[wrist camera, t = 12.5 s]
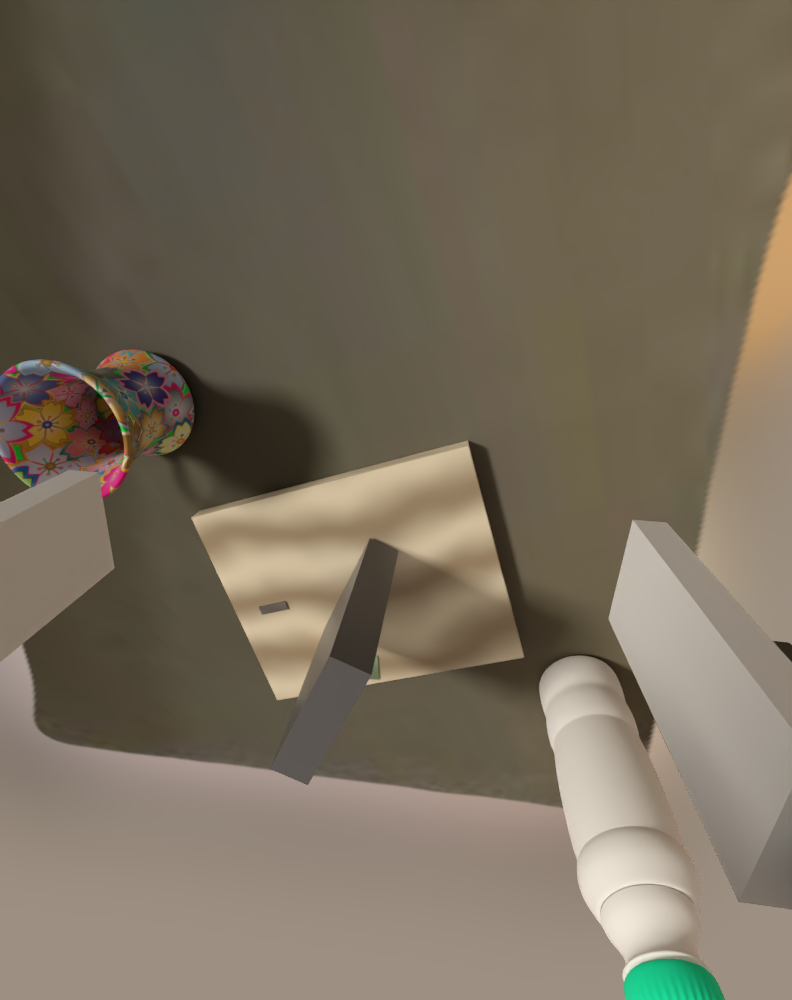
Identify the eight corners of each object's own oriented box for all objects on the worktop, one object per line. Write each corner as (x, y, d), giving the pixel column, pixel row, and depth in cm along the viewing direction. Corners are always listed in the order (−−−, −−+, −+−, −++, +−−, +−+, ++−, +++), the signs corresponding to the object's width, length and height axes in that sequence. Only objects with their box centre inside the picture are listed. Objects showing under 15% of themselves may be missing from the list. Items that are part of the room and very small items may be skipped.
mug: (115, 319, 40) (6, 328, 31) (222, 384, 42) (150, 414, 32) (70, 445, 45) (-37, 488, 35) (167, 501, 46) (89, 559, 36)
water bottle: (610, 645, 47) (761, 994, 24) (622, 706, 49) (769, 1078, 26) (530, 658, 48) (599, 1000, 25) (545, 717, 50) (621, 1079, 27)
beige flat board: (199, 510, 46) (190, 518, 44) (467, 440, 41) (468, 446, 40) (282, 689, 53) (276, 701, 51) (522, 646, 48) (524, 658, 46)
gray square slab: (308, 658, 48) (250, 806, 35) (369, 538, 43) (329, 656, 29) (334, 670, 49) (286, 822, 35) (398, 551, 43) (371, 675, 30)
